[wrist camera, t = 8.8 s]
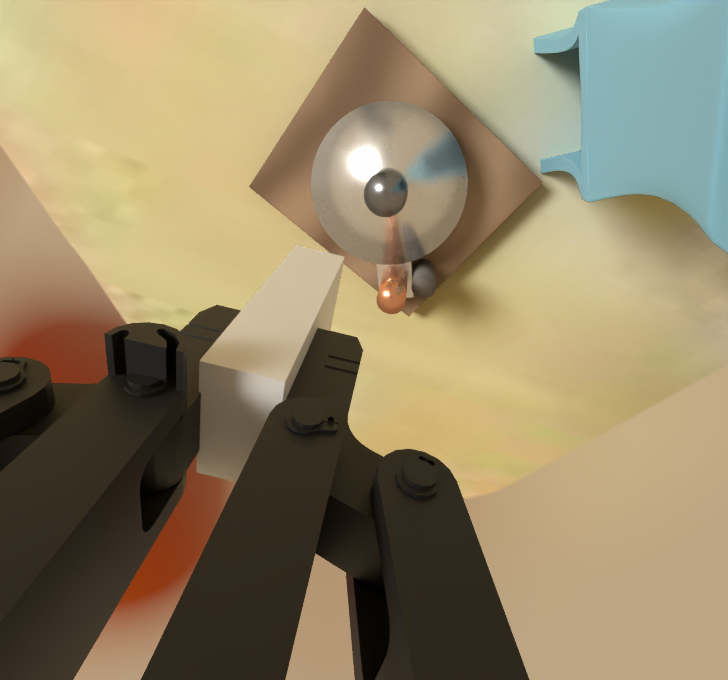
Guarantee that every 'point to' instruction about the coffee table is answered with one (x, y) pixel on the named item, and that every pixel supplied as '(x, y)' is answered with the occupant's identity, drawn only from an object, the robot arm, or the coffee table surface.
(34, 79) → the coffee table surface
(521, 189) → the base board
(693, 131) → the blue tall hollow container
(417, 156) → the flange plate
